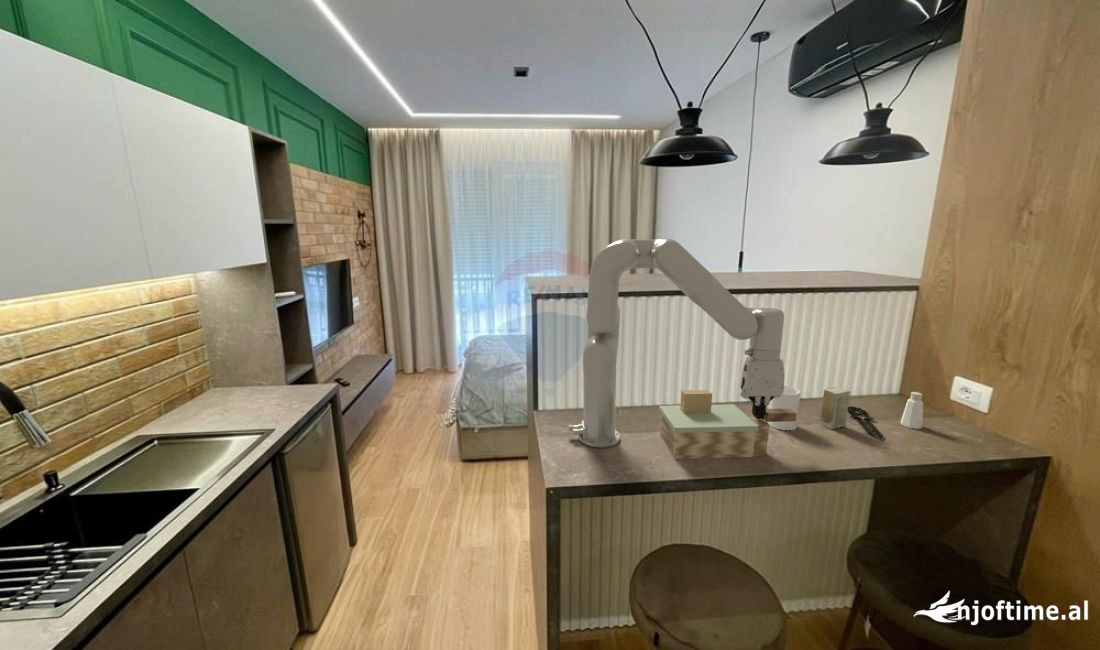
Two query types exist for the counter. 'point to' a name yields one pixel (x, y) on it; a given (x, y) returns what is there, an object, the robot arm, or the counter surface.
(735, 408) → the lid
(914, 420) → the pepper shaker
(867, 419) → the knife
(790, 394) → the mug
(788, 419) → the rectangular brown block
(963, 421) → the counter surface
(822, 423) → the skincare box
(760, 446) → the tan wooden open box
